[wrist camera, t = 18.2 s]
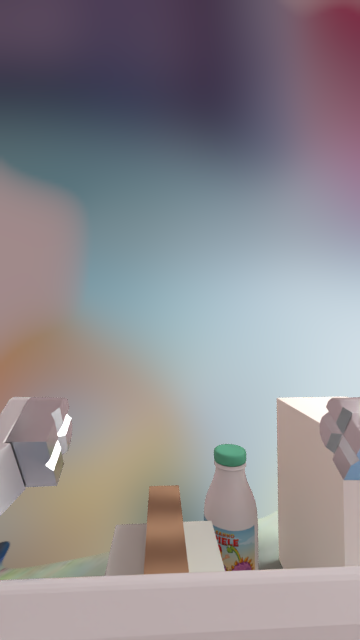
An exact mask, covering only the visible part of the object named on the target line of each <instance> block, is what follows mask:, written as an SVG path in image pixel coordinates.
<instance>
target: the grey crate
mask: <svg viewBox="0 0 360 640" xmlns="http://www.w3.org/2000/svg"><path fill="white" fill-rule="evenodd" d="M183 526H184V534H185V543H186V551H187V559H188V568H189V573H192V572H218V571H225V569H224V565H223V561H222V558H221V554H220V550H219V547H218V543H217V539H216V535H215V532H214V528H213V524H212V521H193V522H183ZM146 531H147V524H126V525H116V528H115V532H114V536H113V541H112V545H111V550H110V554H109V559H108V563H107V568H106V572H105V576H117V575H142V574H144V561H145V546H146Z"/></svg>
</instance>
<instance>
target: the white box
mask: <svg viewBox="0 0 360 640" xmlns="http://www.w3.org/2000/svg"><path fill="white" fill-rule="evenodd" d="M331 398H349V397H307V398H306V397H303V398H277V453H278V533H279V561H280V563H281V565H282V567H283V569H294V568H319V567H345V566H360V480H343V478H342V476H341V474H340V472H339V471H338V469H337V467H336V465H335V463H334V462H333V455H334V453H333V452H331V451H330V450H329V449H327V448H326V447H325V445H324V443H323V441H322V439H321V436H320V427H319V424H320V421H321V418H322V416H324V415H325V414H326V413H328V410H327V408H326V405H327V403H328V401H329V400H330V399H331Z"/></svg>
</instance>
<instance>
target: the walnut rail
mask: <svg viewBox="0 0 360 640" xmlns="http://www.w3.org/2000/svg"><path fill="white" fill-rule="evenodd" d="M167 573H189V568H188V559H187V551H186V543H185V534H184V526H183V518H182V510H181V501H180V493H179V486H178V485H176V486H150V487H149V501H148V516H147V531H146V546H145V561H144V574H167Z"/></svg>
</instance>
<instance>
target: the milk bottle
mask: <svg viewBox="0 0 360 640" xmlns="http://www.w3.org/2000/svg"><path fill="white" fill-rule="evenodd" d="M214 459H215V461H214V464H215V466H216V470H215V474H214V478H213V480H212V483H211V485H210V487H209V490H208V492H207V495H206V499H205V506H204V521H212V524H213V528H214V532H215V535H216V539H217V543H218V547H219V550H220V554H221V558H222V561H223V565H224V569H225V571H243V570H259V566H258V519H257V508H256V503H255V499H254V496H253V494H252V491H251V489H250V487H249V484H248V482H247V479H246V475H245V467H246V451H245V449H244V448H242V447H240V446H238V445H232V444H224V445H219V446H217V447H216V448H215V449H214Z"/></svg>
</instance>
